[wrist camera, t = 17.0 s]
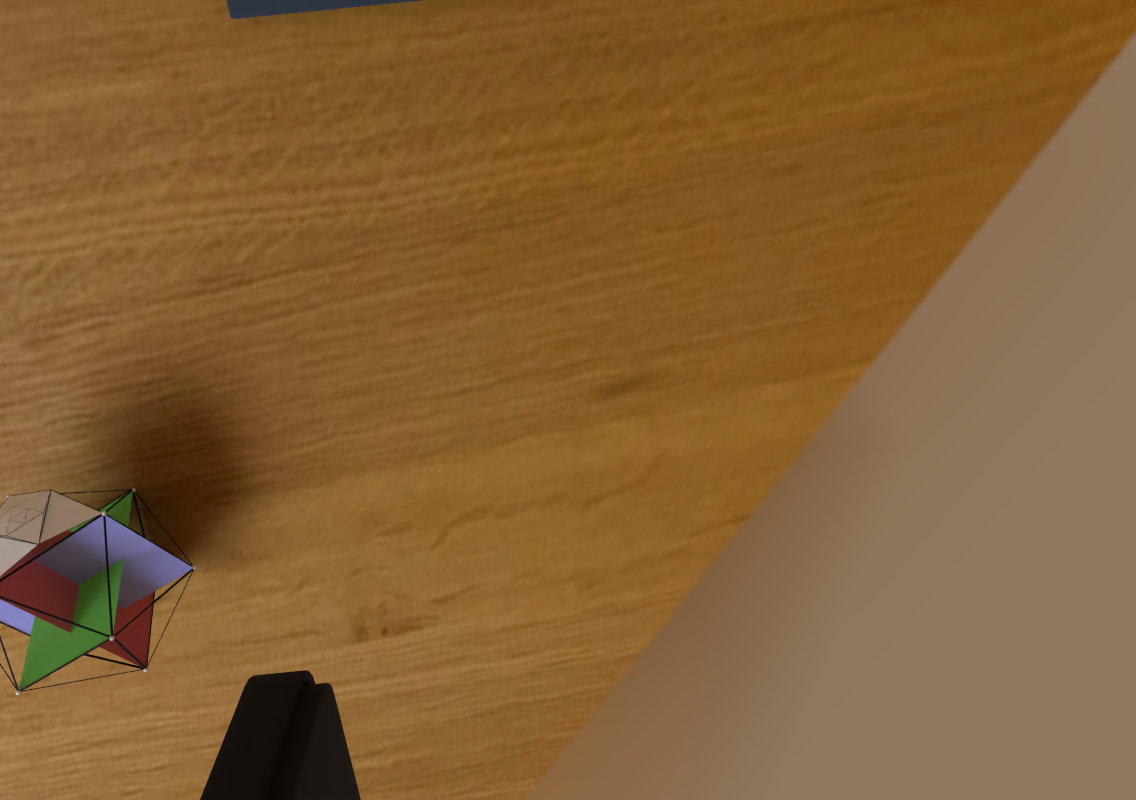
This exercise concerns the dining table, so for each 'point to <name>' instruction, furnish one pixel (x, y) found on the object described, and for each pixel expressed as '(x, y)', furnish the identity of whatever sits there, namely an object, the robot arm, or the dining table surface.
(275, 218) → the dining table surface
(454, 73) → the dining table surface
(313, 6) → the mat
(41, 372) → the dining table surface
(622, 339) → the dining table surface
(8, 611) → the geometric puzzle
